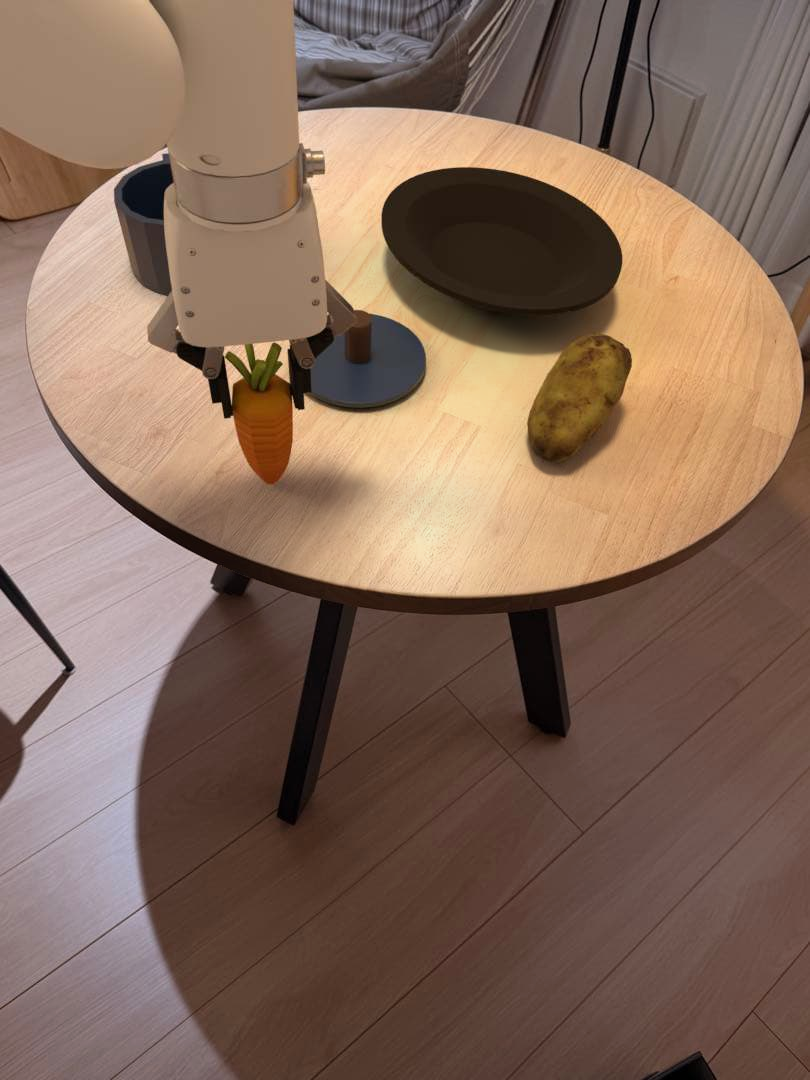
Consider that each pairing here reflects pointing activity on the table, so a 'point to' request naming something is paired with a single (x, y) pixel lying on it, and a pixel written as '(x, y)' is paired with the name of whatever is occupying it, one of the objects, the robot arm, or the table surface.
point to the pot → (146, 222)
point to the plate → (501, 241)
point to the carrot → (263, 413)
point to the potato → (577, 396)
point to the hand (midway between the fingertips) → (262, 400)
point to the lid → (369, 364)
